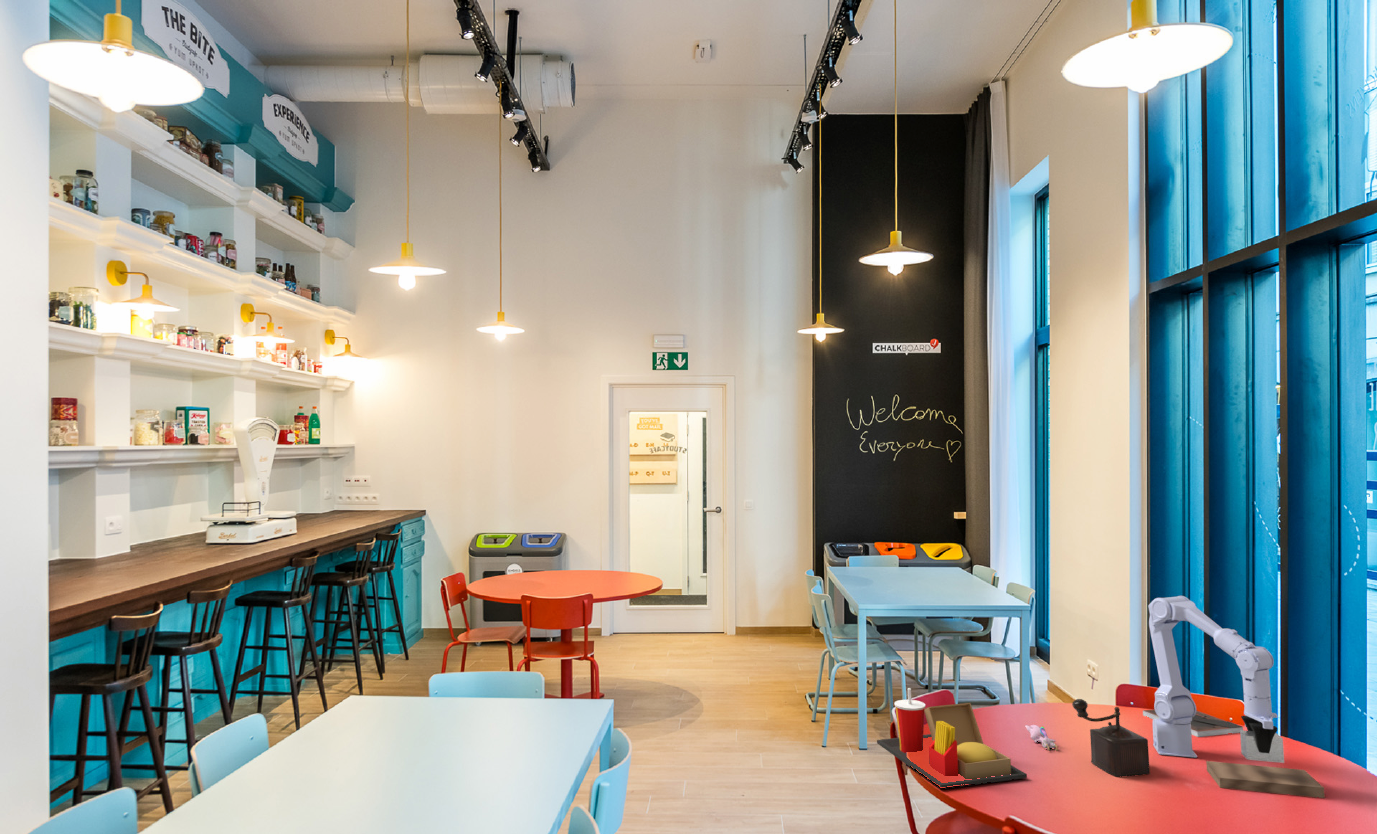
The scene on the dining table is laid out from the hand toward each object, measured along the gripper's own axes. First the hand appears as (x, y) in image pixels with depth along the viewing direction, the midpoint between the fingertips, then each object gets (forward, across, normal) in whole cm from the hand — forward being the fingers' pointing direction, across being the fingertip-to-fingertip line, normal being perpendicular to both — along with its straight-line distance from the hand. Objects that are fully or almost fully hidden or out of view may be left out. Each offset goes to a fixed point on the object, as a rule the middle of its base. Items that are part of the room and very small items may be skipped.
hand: (1260, 749), depth 203 cm
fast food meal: (+9, -7, +77) cm, 78 cm away
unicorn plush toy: (+9, +16, +51) cm, 55 cm away
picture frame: (+10, +48, +5) cm, 50 cm away
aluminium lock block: (+2, 0, 0) cm, 2 cm away
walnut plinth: (+9, 0, 0) cm, 9 cm away
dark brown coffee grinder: (+9, 0, +35) cm, 36 cm away
